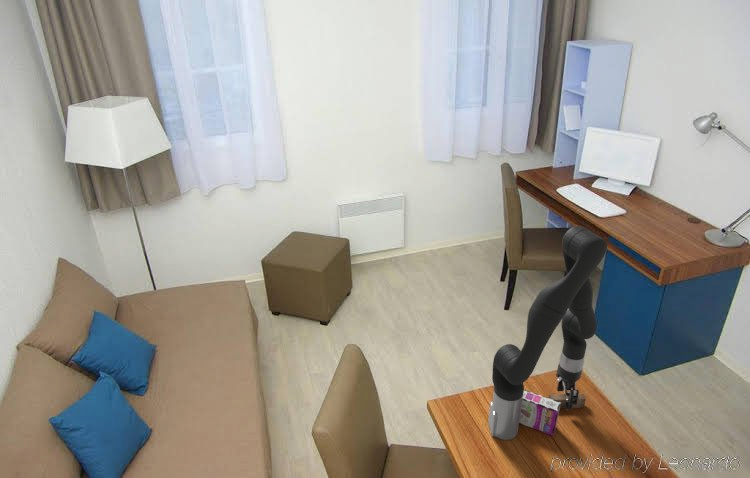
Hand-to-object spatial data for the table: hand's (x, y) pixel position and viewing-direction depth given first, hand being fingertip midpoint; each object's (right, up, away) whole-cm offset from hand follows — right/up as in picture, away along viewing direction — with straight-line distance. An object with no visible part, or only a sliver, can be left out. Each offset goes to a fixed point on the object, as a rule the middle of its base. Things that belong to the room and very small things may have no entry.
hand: (563, 399), depth 183 cm
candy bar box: (-6, -3, -11) cm, 13 cm away
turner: (-2, -3, +2) cm, 4 cm away
